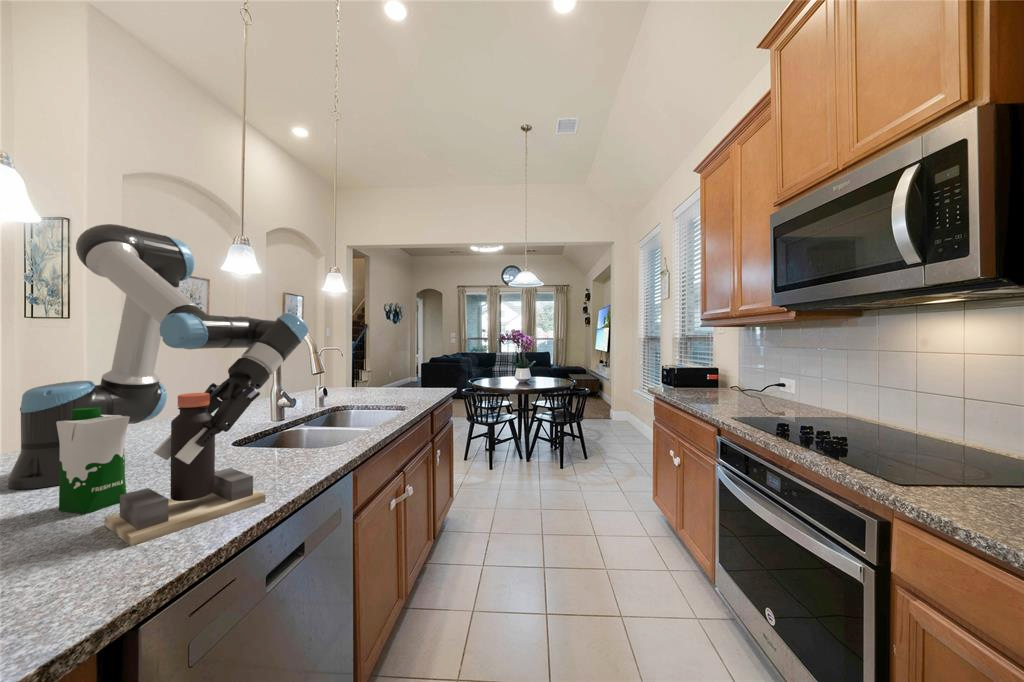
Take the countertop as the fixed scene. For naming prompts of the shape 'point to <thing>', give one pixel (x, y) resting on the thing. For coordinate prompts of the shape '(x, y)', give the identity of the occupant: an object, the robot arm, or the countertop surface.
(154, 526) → the end cap board
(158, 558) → the countertop surface
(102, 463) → the milk carton
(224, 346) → the robot arm
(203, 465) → the vinegar
